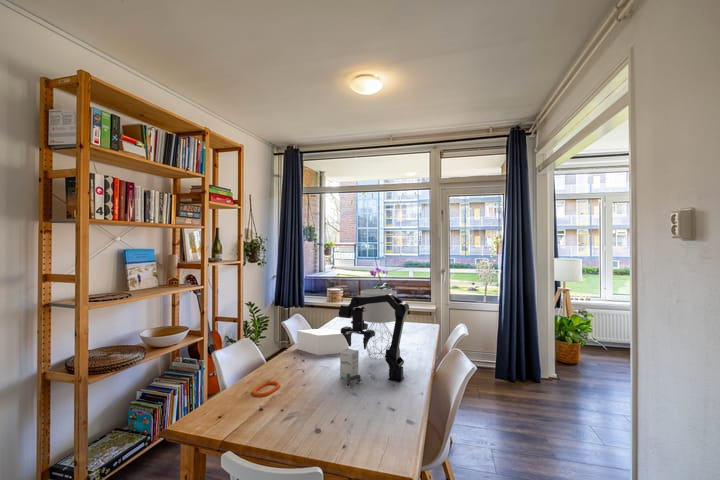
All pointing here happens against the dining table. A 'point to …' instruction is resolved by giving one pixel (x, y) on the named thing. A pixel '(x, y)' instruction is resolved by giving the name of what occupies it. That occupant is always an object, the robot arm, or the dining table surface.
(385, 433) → the dining table surface
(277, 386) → the orange oval ring
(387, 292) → the table lamp
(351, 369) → the supplement box
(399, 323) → the robot arm
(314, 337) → the block
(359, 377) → the grey cabinet handle
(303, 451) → the dining table surface
